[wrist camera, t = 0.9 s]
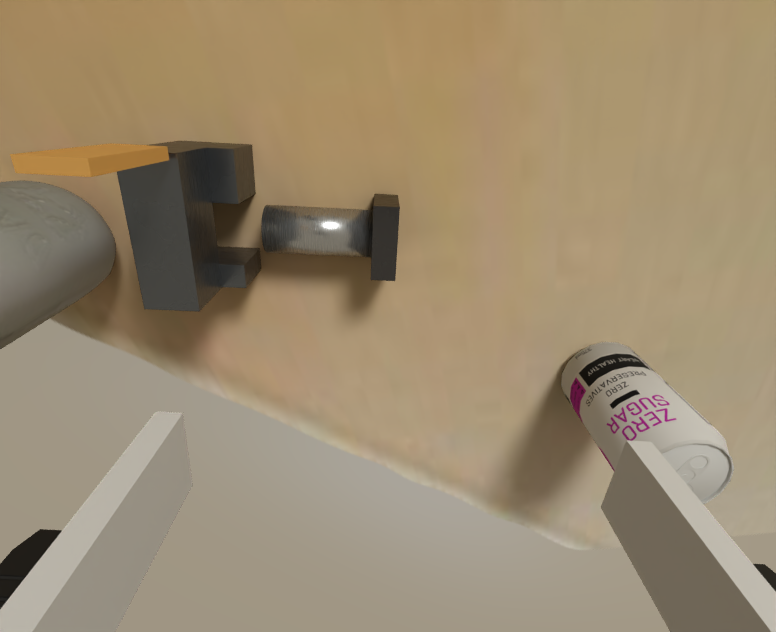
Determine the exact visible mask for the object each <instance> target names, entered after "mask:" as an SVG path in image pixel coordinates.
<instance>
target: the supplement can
mask: <svg viewBox="0 0 776 632" xmlns="http://www.w3.org/2000/svg"><path fill="white" fill-rule="evenodd" d="M561 386H562V389H563V392H564V394H565V396H566V398H567V399H568V401H569V402H570V404H571V406H572V407H573V409H574V410H575V412H576V413H577V415H578V416H579V418H580V419H581V421H582V422H583V424H584V426H585V427H586V429H587V430H588V432H589V433H590V435H591V436H592V438H593V439H594V441H595V443H596V444H597V446H598V447H599V449H600V450H601V452H602V453H603V455H604V456H605V458H606V460H607V461H608V463H609V464H610V466H611V467H612V469H613V470H614V472H615V469H616V466H617V464H618V461H619V459H620V456H621V453H622V451H623V448H624V446H625V443H626V440H630V441H646V442H652V443H653V444H654V446H655V447H656V448H657V449H658V450H659V452H660V453H661V454H662V455H663V456H664V458H665V459H666V460H667V461H668V462H669V464H670V465H671V466H672V467H673V469H674V470H675V471H676V472H677V473H678V475H679V476H680V477H681V478H682V479H683V481H684V482H685V483H686V484H687V485H688V487H689V488H690V489H691V490H692V491H693V493H694V494H695V495H696V496H697V497H698V499H699V500H700V501H701V502H702V503H703V504H705V503H707V502H709V501H711V500H712V499H713V498H715V497H716V496H717V495H719V494H720V493H721V492H722V491H723V490H724V489H725V487H726V486H727V485H728V483H729V482H730V480H731V477H732V474H733V471H734V466H733V461H732V457H731V456H730V455H729V453H728V449H727V444H726V440H725V439H724V437H723V436H722V435H721V434H720V433H719V432H718V431H717V430H716V429H715V428H714V427H713V426H712V425H711V424H710V423H709V422H708V421H707V420H706V419H705V418H704V417H703V416H702V415H701V414H699V413H698V412H697V411H696V410H695V409H694V408H693V407H692V406H691V405H690V404H689V403H688V402H687V401H686V400H685V399H684V398H683V397H681V396H680V395H679V394H678V393H677V392H676V391H675V390H674V389H673V388H672V387H671V386H670V385H669V384H668V383H667V382H666V381H665V380H663V379H662V378H661V377H660V376H659V375H658V374H657V373H656V372H655V371H654V370H653V369H652V368H651V367H650V366H649V365H648V364H647V363H645V362H644V361H643V360H642V359H641V358H640V357H639V356H638V355H637V354H636V353H635V352H634V351H633V350H632V349H631V348H629V347H627V346H625V345H623V344H620V343H615V342H602V343H598V344H594V345H590V346H588V347H586V348H585V349H583V350H581V351H579V352H578V353H577V354H576V355H575V356H574V357H573V358H572V359H571V360H570V361H569V362H568V363H567V365H566V367H565V369H564V371H563V373H562V381H561Z"/></svg>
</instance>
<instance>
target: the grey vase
mask: <svg viewBox="0 0 776 632" xmlns="http://www.w3.org/2000/svg"><path fill="white" fill-rule="evenodd" d="M115 254H116V244H115V240H114V237H113V234H112V232H111V230H110V228H109V227H108V225H107V223H106V222H105V221H104V219H103V218H102V217H101V215H100V214H99V213H98V212H97V211H96V210H95V209H94V208H93V207H92V206H91V205H90V204H89V203H87V202H86V201H85V200H83V199H82V198H80V197H79V196H77V195H75V194H73V193H71V192H69V191H67V190H65V189H62V188H60V187H57V186H54V185H50V184H46V183H41V182H34V181H9V182H0V349H1V348H3V347H5V346H6V345H8V344H9V343H11V342H13V341H14V340H16V339H17V338H19V337H21V336H22V335H24V334H25V333H27V332H29V331H30V330H32V329H33V328H35V327H37V326H38V325H40V324H41V323H43V322H44V321H46V320H48V319H49V318H51V317H52V316H54V315H56V314H57V313H59V312H60V311H62V310H63V309H65V308H67V307H68V306H70V305H71V304H73V303H75V302H76V301H78V300H79V299H80V298H82V297H84V296H85V295H86V294H88V293H89V292H90V291H92V290H93V289H94V288H95V287H97V286H98V285H99V284H100V283H101V282H102V281H103V280H104V279H105V278H106V277H107V276H108V275H109V274H110V272H111V269H112V267H113V264H114V259H115Z"/></svg>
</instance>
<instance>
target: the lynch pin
mask: <svg viewBox="0 0 776 632" xmlns="http://www.w3.org/2000/svg"><path fill="white" fill-rule="evenodd" d="M399 209H400V207H399V201H398V195H386V194H375V196H374V206H373V210H361V209H340V208H320V207H300V206H279V205H266V206H265V208H264V210H263V215H262V241H263V246H264V249H265V251H266V252H267V253H287V254H309V255H331V256H353V257H372V261H371V280H386V281H395V274H396V258H397V242H398V226H399Z"/></svg>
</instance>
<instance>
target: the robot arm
mask: <svg viewBox="0 0 776 632" xmlns="http://www.w3.org/2000/svg"><path fill="white" fill-rule="evenodd" d="M192 485H193V483H192V476H191V469H190V462H189V454H188V448H187V440H186V432H185V425H184V418H183V413H172V412H155V413H154V415H153V416H152V417H151V418H150V420H149V421H148V422H147V423H146V425H145V426H144V427H143V429H142V430H141V431H140V432H139V434H138V435H137V436H136V438H135V439H134V440H133V441H132V443H131V444H130V445H129V446H128V448H127V449H126V450H125V451H124V453H123V454H122V455H121V457H120V458H119V459H118V460H117V462H116V463H115V464H114V465H113V467H112V468H111V469H110V471H109V472H108V473H107V474H106V476H105V477H104V478H103V479H102V481H101V482H100V483H99V485H98V486H97V487H96V488H95V490H94V491H93V492H92V493H91V495H90V496H89V497H88V499H87V500H86V501H85V502H84V504H83V505H82V506H81V507H80V509H79V510H78V511H77V512H76V514H75V515H74V516H73V518H72V519H71V520H70V521H69V523H68V524H67V525H66V527H65V528H64V529H63V530H62V531H61V530H43V529H40V530H39V531H38V532H36V533H35V534H33V535H32V536H31V537H29V538H28V539H27V540H25V541H24V542H23V543H21V544H20V545H18V546H17V547H16V548H14V549H13V550H12V551H11V552H10V554H9V555H8V556H7V557H6V558H5V559H4V560H3V561H2V563H1V564H0V632H115V631H116V630H117V628H118V626H119V624H120V622H121V620H122V618H123V616H124V614H125V612H126V610H127V609H128V607H129V605H130V603H131V601H132V599H133V597H134V595H135V593H136V592H137V590H138V588H139V586H140V584H141V582H142V580H143V578H144V576H145V574H146V573H147V571H148V569H149V567H150V565H151V563H152V561H153V559H154V557H155V555H156V554H157V552H158V550H159V548H160V546H161V544H162V542H163V540H164V538H165V536H166V534H167V533H168V530H169V529H170V527H171V525H172V523H173V521H174V519H175V518H176V515H177V514H178V512H179V510H180V508H181V506H182V504H183V502H184V500H185V499H186V497H187V495H188V493H189V491H190V489H191V487H192ZM601 509H602V510H603V512H604V514H605V516H606V518H607V519H608V521H609V523H610V525H611V526H612V528H613V530H614V532H615V534H616V535H617V537H618V539H619V541H620V543H621V544H622V546H623V548H624V550H625V551H626V553H627V555H628V557H629V559H630V560H631V562H632V564H633V566H634V568H635V569H636V571H637V573H638V575H639V576H640V578H641V580H642V582H643V584H644V586H645V587H646V589H647V591H648V593H649V594H650V596H651V598H652V600H653V601H654V603H655V605H656V607H657V609H658V611H659V612H660V614H661V616H662V618H663V619H664V621H665V623H666V625H667V626H668V629H669V630H670V632H776V573H774V572H773V571H772V570H771V569H770V568H768V567H767V566H766V565H763V564H752V563H751V561H750V560H749V559H748V558H747V557H746V555H745V554H744V553H743V552H742V550H741V549H740V548H739V547H738V546H737V545H736V543H735V542H734V541H733V540H732V538H731V537H730V536H729V535H728V534H727V532H726V531H725V530H724V529H723V528H722V526H721V525H720V524H719V523H718V522H717V520H716V519H715V518H714V517H713V516H712V514H711V513H710V512H709V511H708V509H707V508H706V507H705V506H704V505H703V503H702V502H701V501H700V500H699V499H698V497H697V496H696V495H695V494H694V493H693V491H692V490H691V489H690V488H689V487H688V485H687V484H686V483H685V482H684V481H683V479H682V478H681V477H680V476H679V475H678V473H677V472H676V471H675V470H674V469H673V467H672V466H671V465H670V464H669V462H668V461H667V460H666V459H665V458H664V456H663V455H662V454H661V453H660V452H659V450H658V449H657V448H656V447H655V446H654V444H653V443H652V442H646V441H630V440H626V443H625V446H624V448H623V451H622V453H621V456H620V459H619V461H618V464H617V466H616V469H615V472H614V474H613V477H612V479H611V482H610V485H609V487H608V490H607V492H606V495H605V498H604V500H603V503H602V505H601Z"/></svg>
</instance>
